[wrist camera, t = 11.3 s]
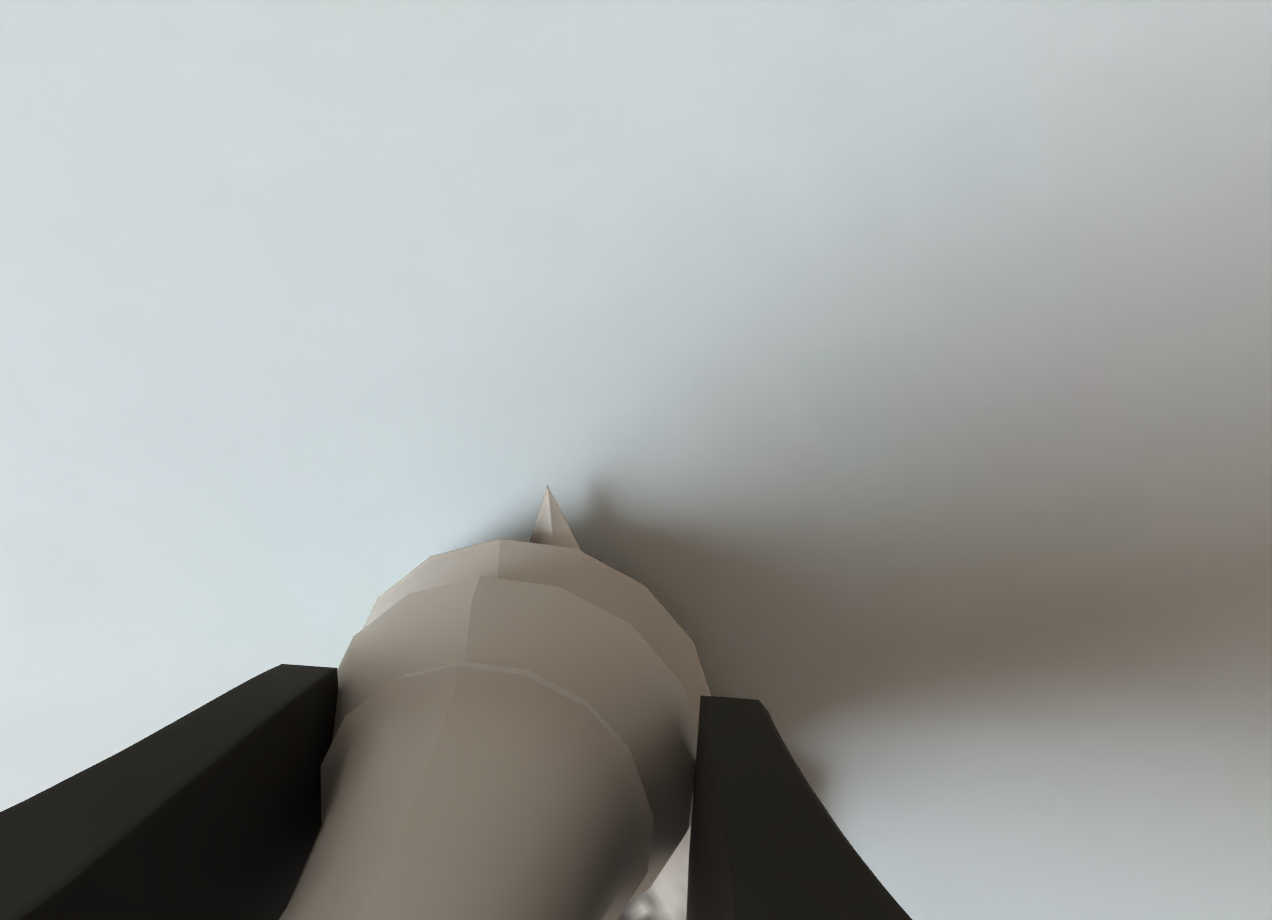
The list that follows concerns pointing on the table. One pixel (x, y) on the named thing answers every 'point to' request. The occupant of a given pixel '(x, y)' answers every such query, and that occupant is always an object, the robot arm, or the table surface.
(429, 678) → the rook chess piece
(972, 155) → the table surface
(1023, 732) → the table surface
